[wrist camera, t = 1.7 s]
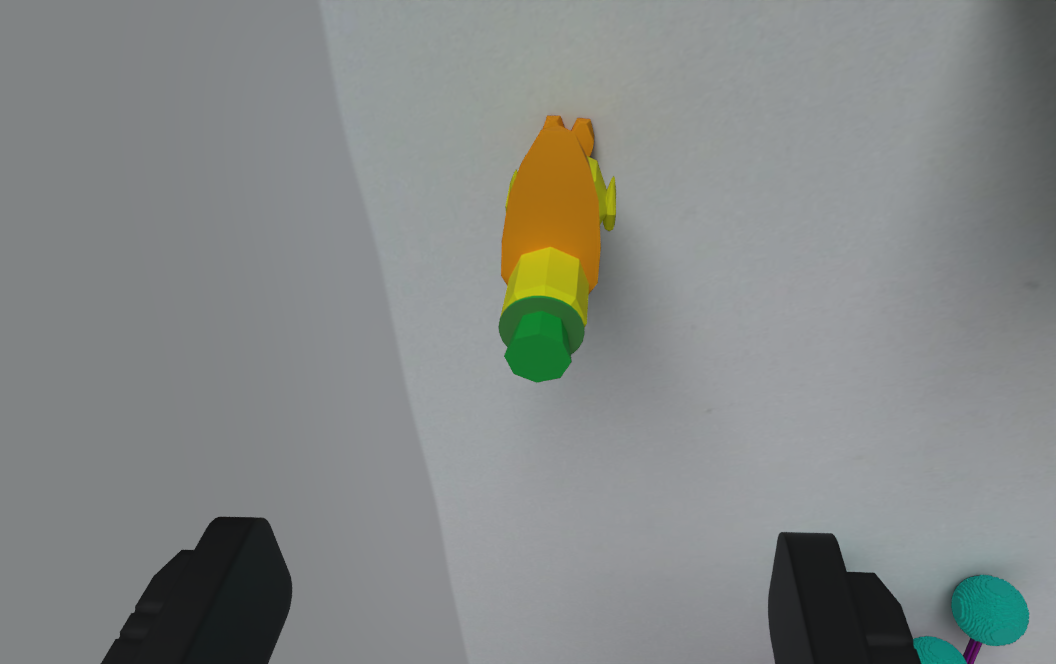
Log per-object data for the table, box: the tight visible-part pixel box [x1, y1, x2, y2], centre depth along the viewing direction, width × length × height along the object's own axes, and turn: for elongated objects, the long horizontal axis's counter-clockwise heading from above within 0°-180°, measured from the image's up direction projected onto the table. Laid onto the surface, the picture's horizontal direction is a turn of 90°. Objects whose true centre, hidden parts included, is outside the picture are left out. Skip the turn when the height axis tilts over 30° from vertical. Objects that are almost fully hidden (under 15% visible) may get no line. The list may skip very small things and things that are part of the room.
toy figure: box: [499, 116, 616, 382], centre depth 22 cm, size 7×4×12 cm, turn 178°
